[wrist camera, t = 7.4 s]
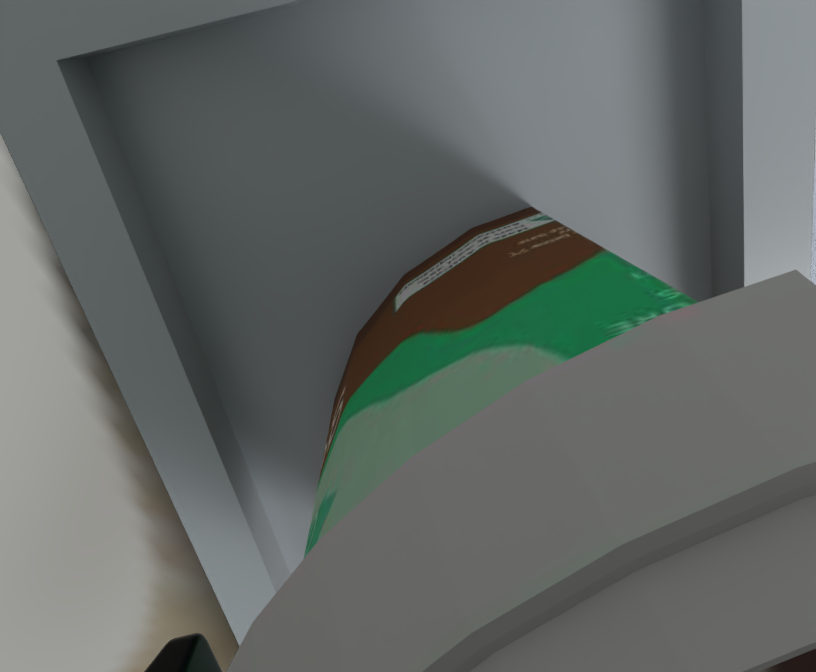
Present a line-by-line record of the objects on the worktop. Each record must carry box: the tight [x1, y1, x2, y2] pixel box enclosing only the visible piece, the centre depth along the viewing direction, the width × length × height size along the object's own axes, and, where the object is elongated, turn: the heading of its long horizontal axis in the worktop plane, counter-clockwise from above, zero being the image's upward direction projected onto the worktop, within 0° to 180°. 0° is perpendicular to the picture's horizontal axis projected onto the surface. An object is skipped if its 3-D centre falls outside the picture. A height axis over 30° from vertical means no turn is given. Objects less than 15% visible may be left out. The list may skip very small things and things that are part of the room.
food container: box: [226, 207, 816, 672], centre depth 10 cm, size 12×6×10 cm, turn 14°
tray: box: [0, 0, 816, 646], centre depth 13 cm, size 12×17×2 cm
